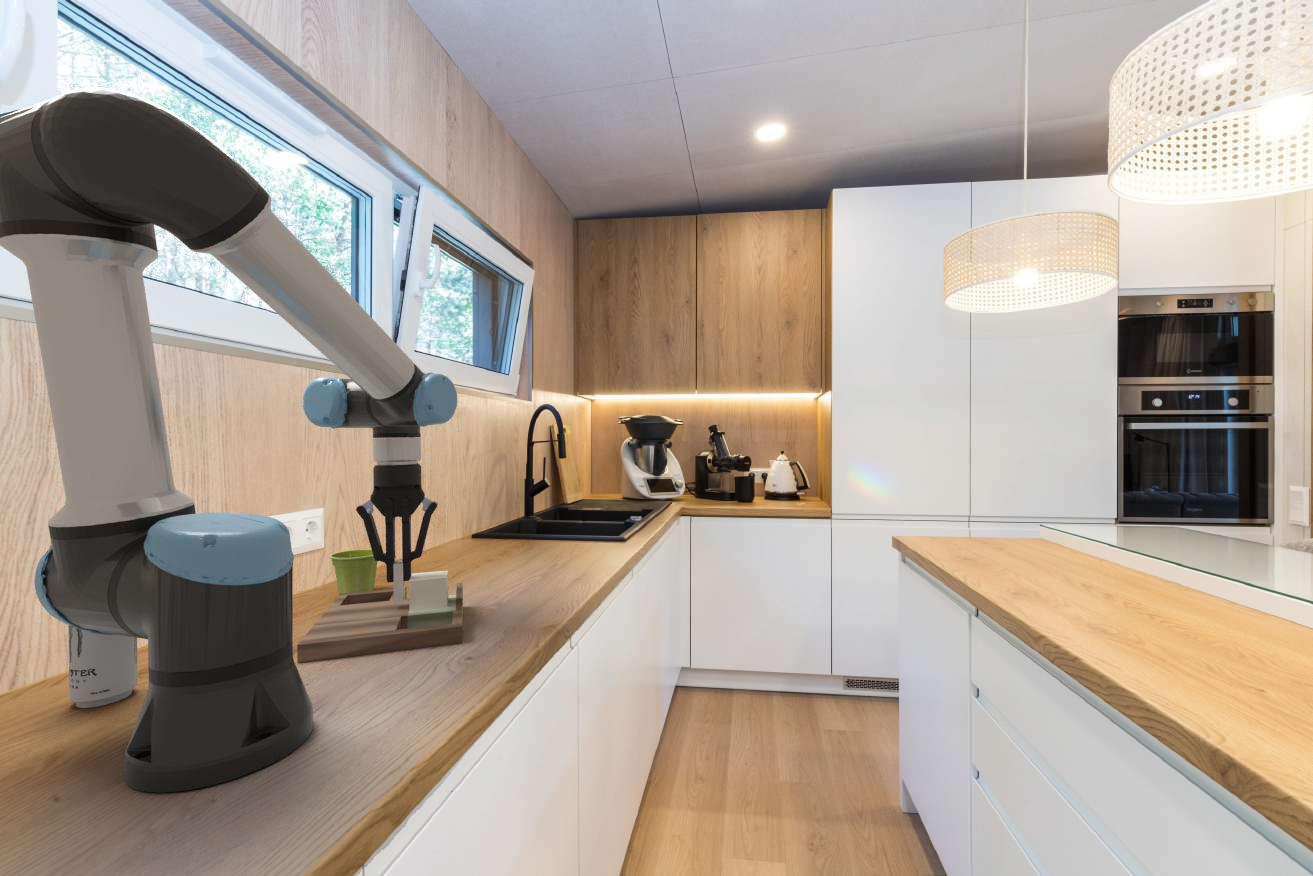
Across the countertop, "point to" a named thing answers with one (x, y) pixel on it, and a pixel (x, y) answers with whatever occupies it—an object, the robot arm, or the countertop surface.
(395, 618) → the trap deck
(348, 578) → the plant pot
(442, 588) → the block
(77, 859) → the countertop surface
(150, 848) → the countertop surface
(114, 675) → the energy drink can
